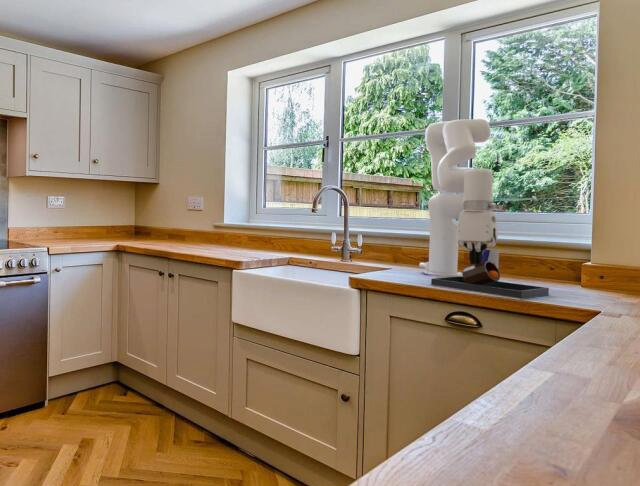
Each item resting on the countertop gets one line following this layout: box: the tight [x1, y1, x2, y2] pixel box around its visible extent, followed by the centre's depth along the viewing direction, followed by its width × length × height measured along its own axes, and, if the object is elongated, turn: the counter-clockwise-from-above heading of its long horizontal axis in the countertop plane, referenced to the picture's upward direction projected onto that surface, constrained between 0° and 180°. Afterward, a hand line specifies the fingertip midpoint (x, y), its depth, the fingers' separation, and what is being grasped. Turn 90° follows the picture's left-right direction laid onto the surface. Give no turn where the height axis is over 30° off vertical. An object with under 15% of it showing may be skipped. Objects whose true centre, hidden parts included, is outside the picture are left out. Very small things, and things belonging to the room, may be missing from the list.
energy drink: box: [481, 248, 500, 269], centre depth 171 cm, size 5×5×12 cm
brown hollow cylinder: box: [461, 261, 501, 285], centre depth 157 cm, size 6×7×8 cm
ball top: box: [488, 271, 499, 279], centre depth 154 cm, size 3×3×3 cm
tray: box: [430, 275, 550, 301], centre depth 155 cm, size 25×17×2 cm
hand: (475, 263), depth 158 cm, fingers closed
